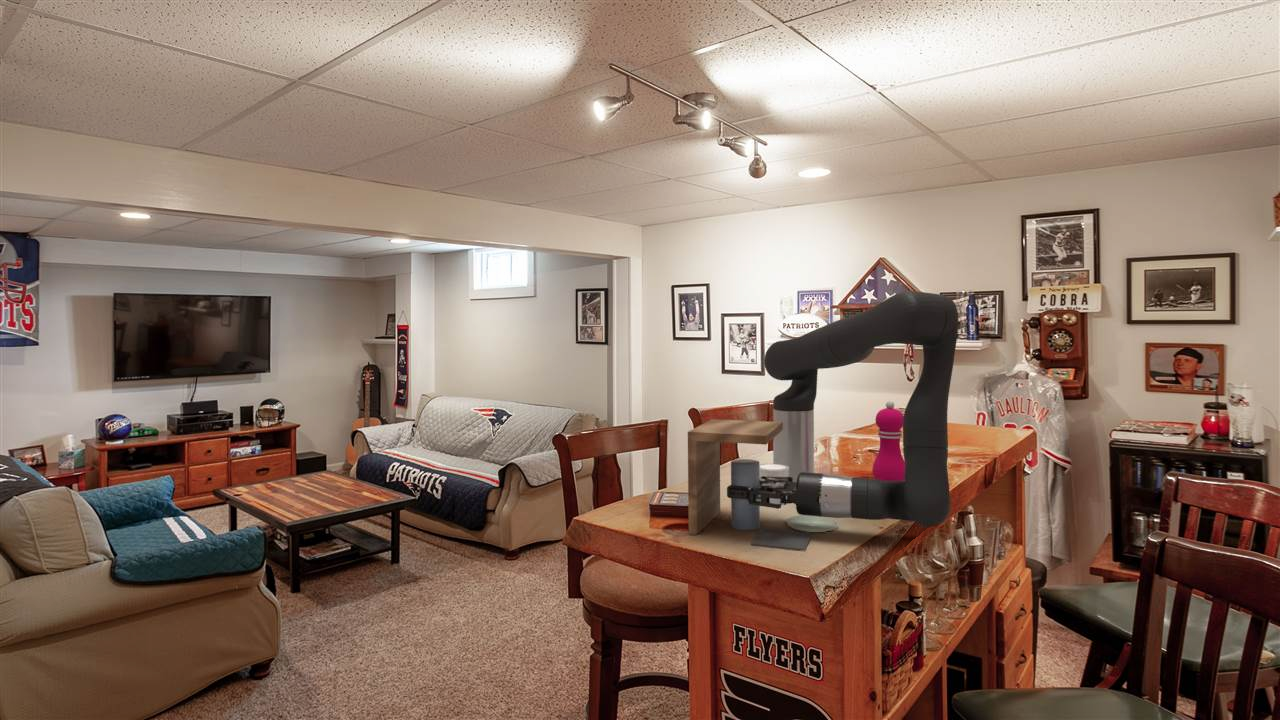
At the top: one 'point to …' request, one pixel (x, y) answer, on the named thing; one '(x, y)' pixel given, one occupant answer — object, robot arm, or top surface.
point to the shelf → (716, 462)
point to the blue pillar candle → (741, 510)
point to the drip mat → (782, 539)
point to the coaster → (812, 523)
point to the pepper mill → (889, 445)
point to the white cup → (773, 470)
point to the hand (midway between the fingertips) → (731, 487)
